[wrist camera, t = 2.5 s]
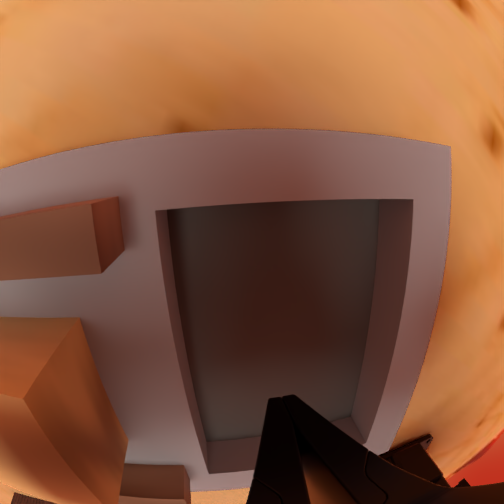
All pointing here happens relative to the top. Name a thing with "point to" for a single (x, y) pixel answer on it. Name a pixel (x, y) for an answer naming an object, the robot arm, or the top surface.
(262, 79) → the top surface
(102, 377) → the deck
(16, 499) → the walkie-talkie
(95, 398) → the block
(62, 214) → the channel
